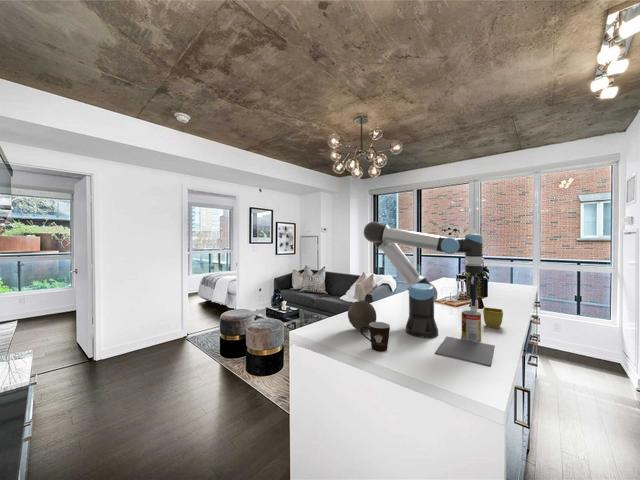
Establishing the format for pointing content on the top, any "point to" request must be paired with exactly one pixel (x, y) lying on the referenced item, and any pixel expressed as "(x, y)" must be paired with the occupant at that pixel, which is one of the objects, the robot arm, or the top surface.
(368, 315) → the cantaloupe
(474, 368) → the top surface
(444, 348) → the mat
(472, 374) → the top surface
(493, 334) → the top surface
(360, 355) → the top surface
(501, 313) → the flower pot
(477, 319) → the canned food
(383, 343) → the coffee mug
